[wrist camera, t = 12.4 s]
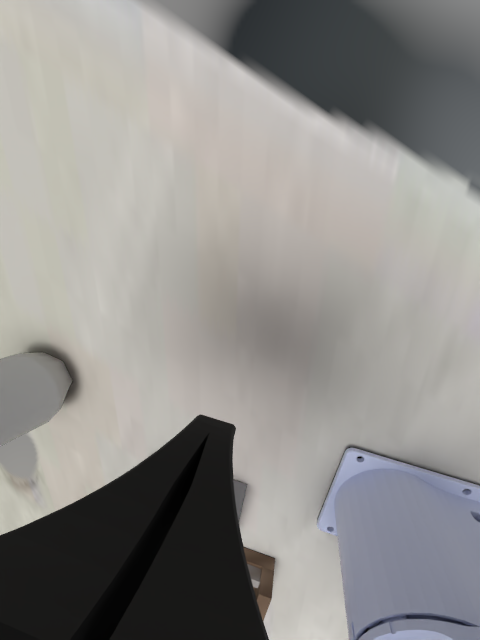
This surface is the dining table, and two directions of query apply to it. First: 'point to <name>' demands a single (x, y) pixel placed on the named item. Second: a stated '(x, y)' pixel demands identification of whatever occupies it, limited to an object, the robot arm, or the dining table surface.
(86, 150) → the dining table surface
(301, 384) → the dining table surface
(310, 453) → the dining table surface
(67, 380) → the salt shaker
